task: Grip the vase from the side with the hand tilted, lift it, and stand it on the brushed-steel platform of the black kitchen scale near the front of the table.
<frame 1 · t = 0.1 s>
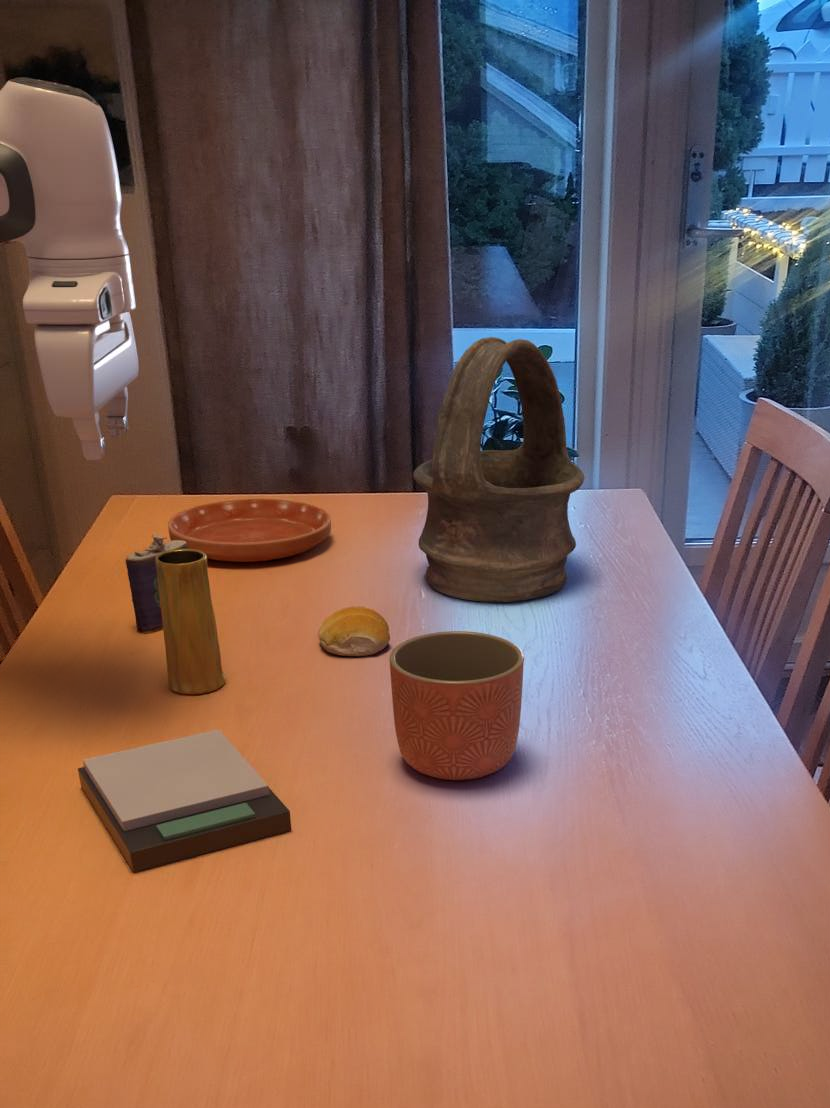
hand: (107, 446, 118), 26 cm above the table, tool pointing down, fingers open, 8 cm apart
scale: (183, 808, 110), on the table
vase: (197, 685, 134), on the table
flask: (167, 622, 150), on the table
saucer: (252, 545, 176), on the table
planter: (457, 762, 119), on the table
bread roll: (356, 645, 144), on the table
clay pot: (495, 580, 164), on the table
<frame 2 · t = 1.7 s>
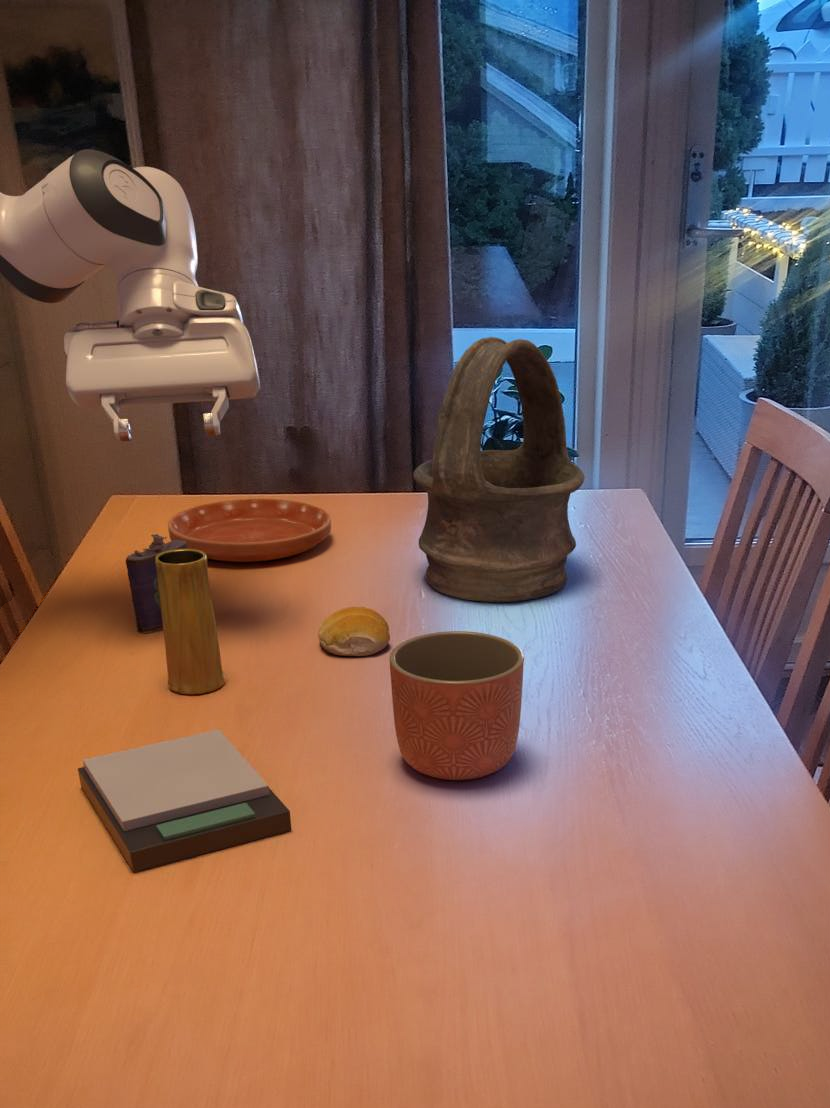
hand: (167, 435, 130), 24 cm above the table, tool tilted 45°, fingers open, 8 cm apart
nothing on the table moved.
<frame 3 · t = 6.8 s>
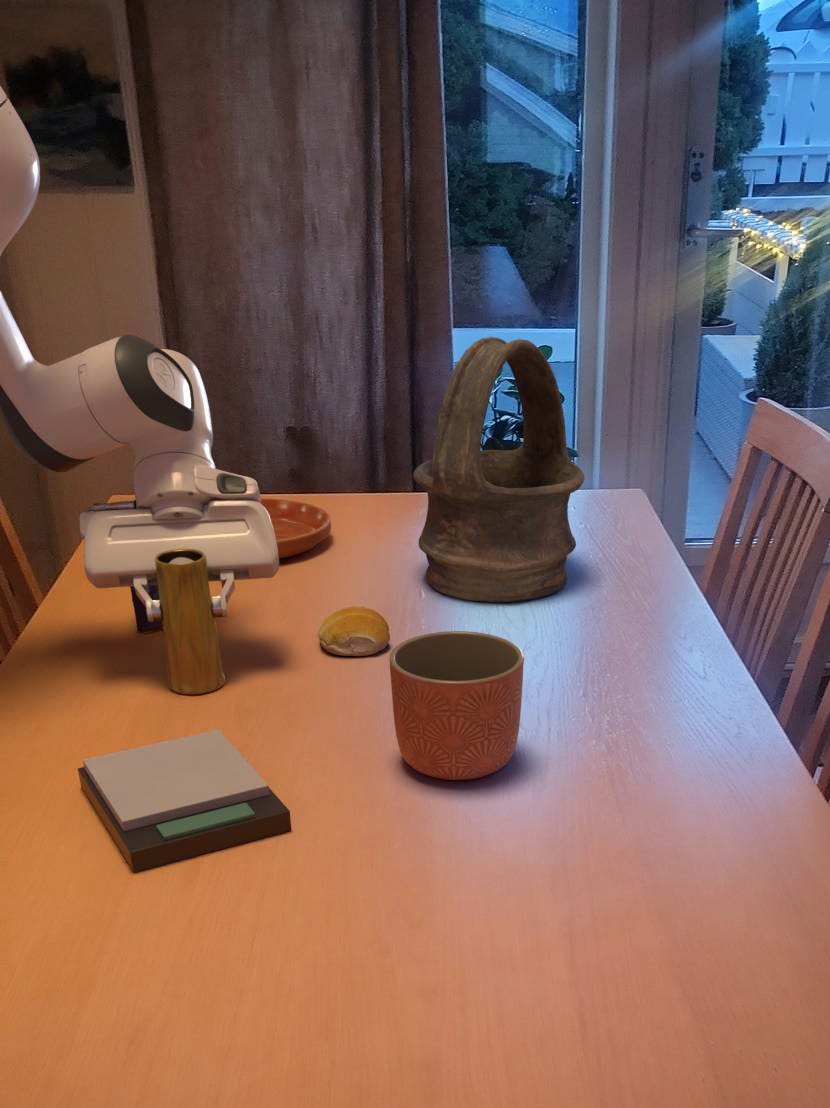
hand: (188, 617, 129), 8 cm above the table, tool tilted 45°, fingers closed on vase, 5 cm apart
vase: (197, 685, 134), on the table, touching gripper
everything else where it was.
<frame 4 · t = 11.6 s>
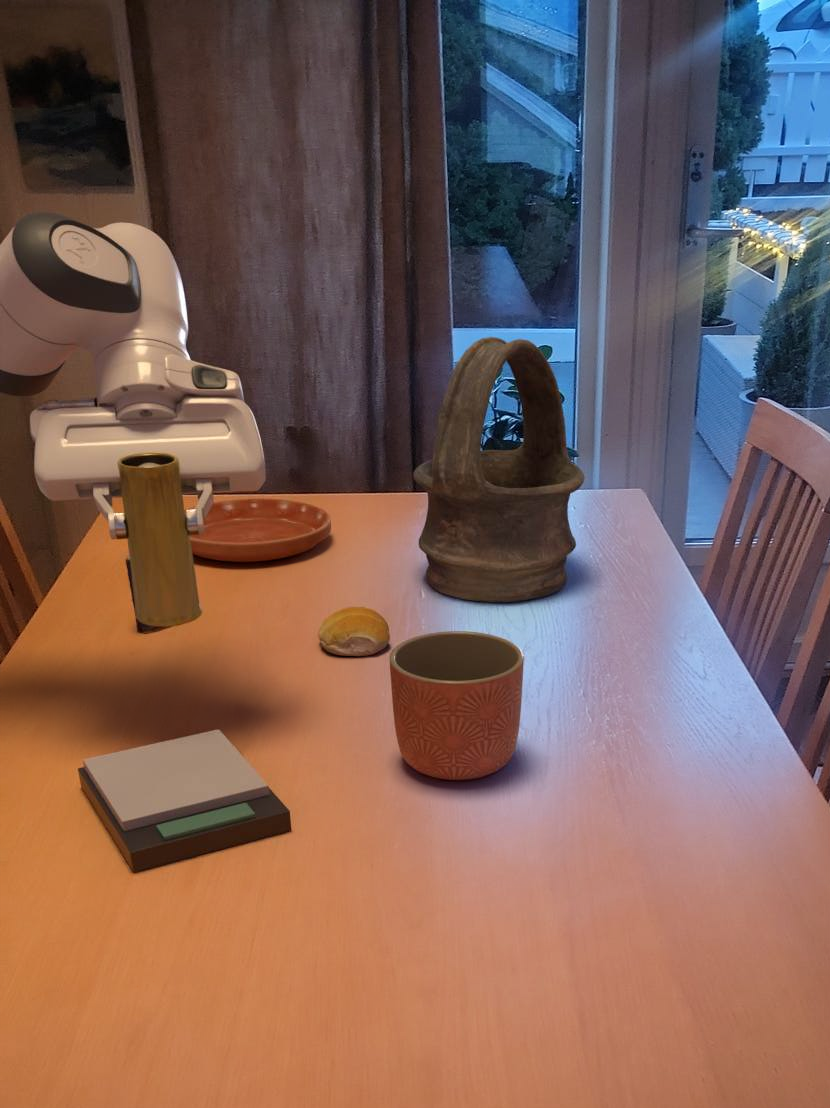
hand: (158, 534, 110), 21 cm above the table, tool tilted 45°, fingers closed on vase, 5 cm apart
vase: (169, 617, 114), point 13 cm above the table, touching gripper
everything else where it was.
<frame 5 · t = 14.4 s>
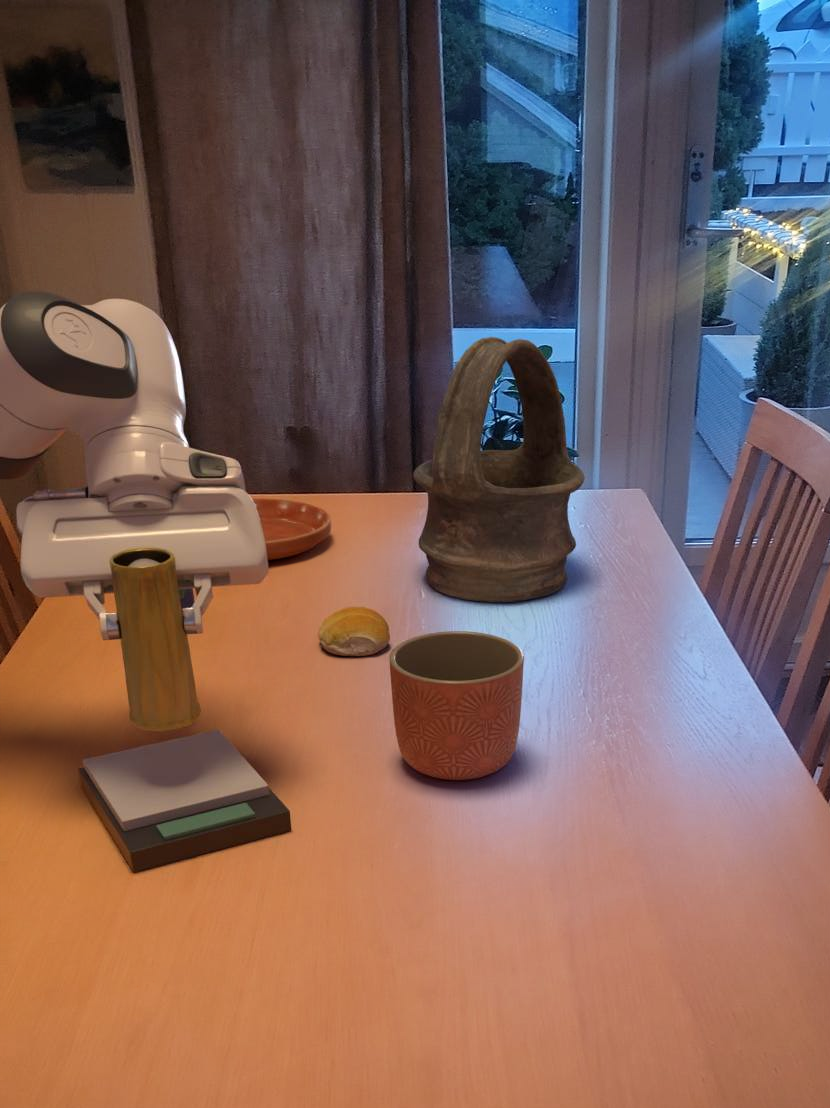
hand: (153, 634, 102), 16 cm above the table, tool tilted 45°, fingers closed on vase, 5 cm apart
vase: (166, 718, 107), point 8 cm above the table, touching gripper
everything else where it was.
when the fingers open (11 cm above the table, at t = 16.5 s): vase stays where it is, resting on scale.
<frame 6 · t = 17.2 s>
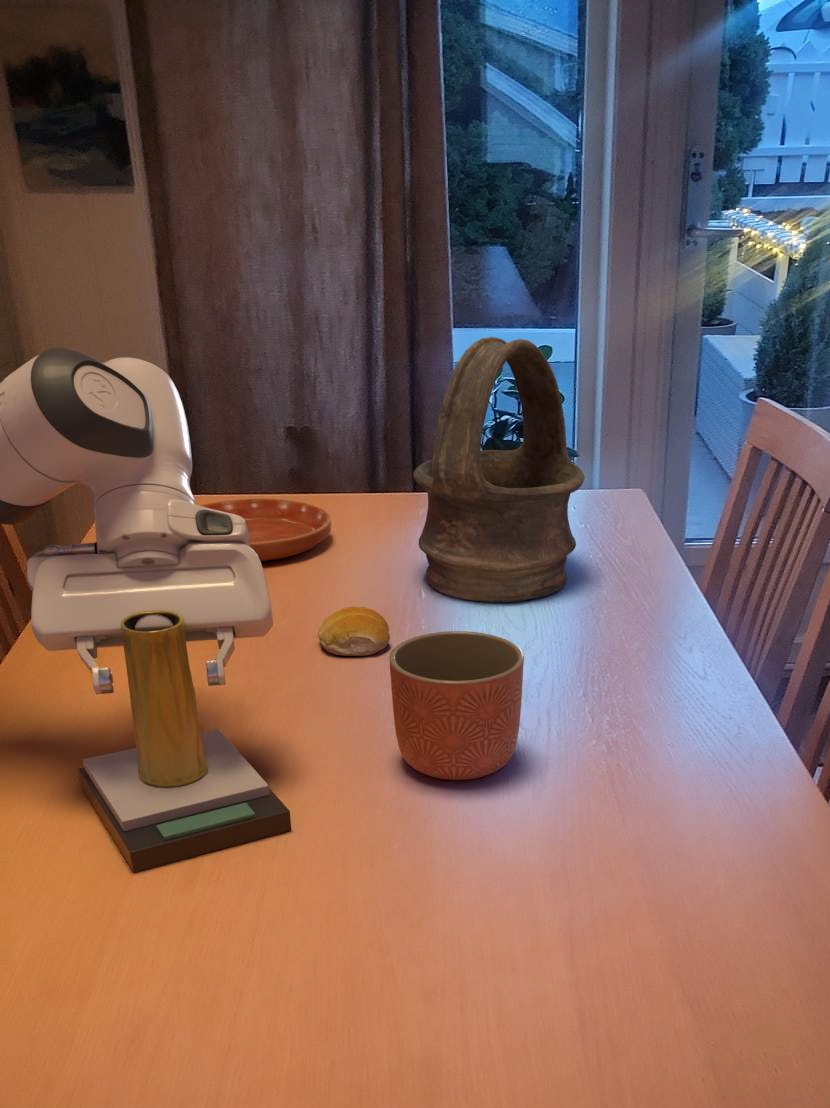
hand: (160, 687, 105), 11 cm above the table, tool tilted 45°, fingers open, 8 cm apart
vase: (173, 773, 110), point 3 cm above the table, touching scale
everything else where it was.
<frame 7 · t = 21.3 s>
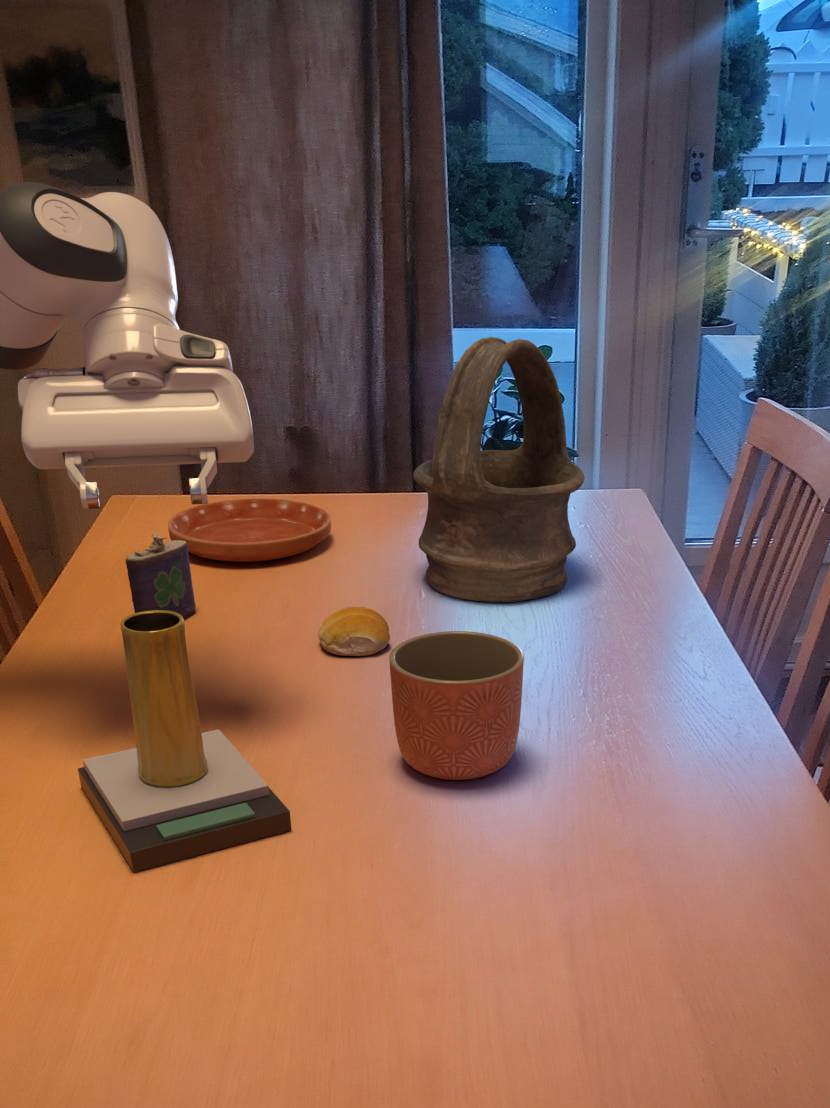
hand: (145, 503, 109), 24 cm above the table, tool tilted 45°, fingers open, 8 cm apart
nothing on the table moved.
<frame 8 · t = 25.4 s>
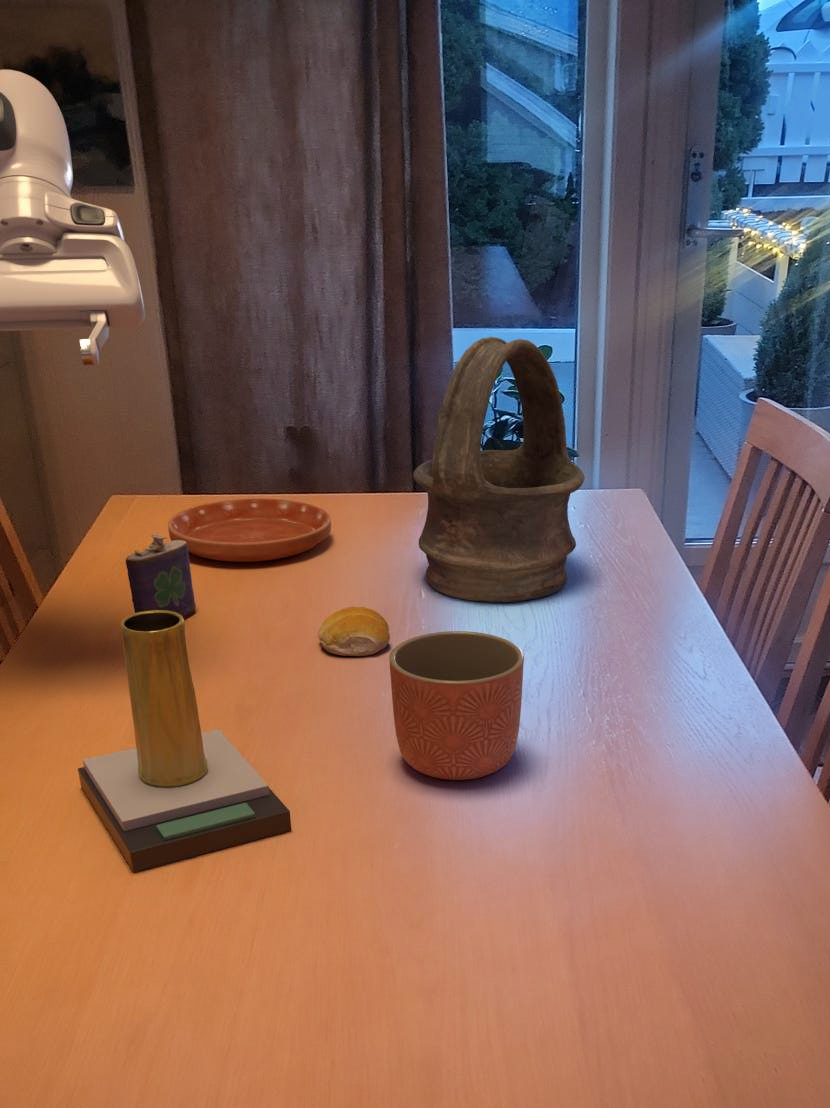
hand: (38, 363, 115), 33 cm above the table, tool tilted 45°, fingers open, 8 cm apart
nothing on the table moved.
at the end: vase inside the target area on the scale (0.0 cm from its centre), point 2.8 cm above the scale's base; vase tilted 0°; the gripper is holding nothing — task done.
